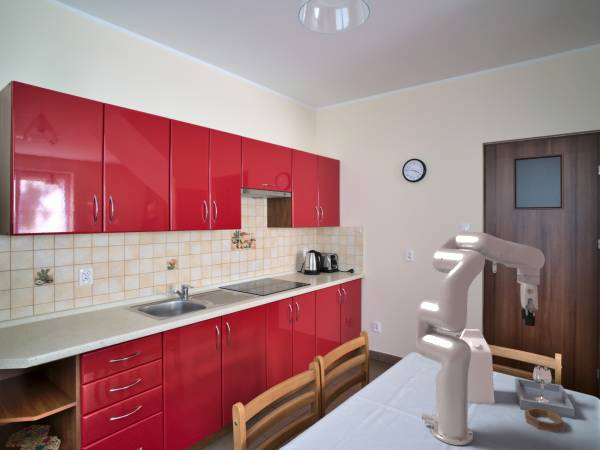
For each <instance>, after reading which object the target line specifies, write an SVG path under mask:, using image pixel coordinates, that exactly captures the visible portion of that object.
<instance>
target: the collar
mask: <svg viewBox="0 0 600 450" xmlns="http://www.w3.org/2000/svg"><path fill="white" fill-rule="evenodd" d="M536 417H542V418H547V419H549V420H550V421H553V422H549V421H544V420H540V419H538V418H536ZM524 418H525V421H526V424H528V425H530V426H532V427H534V428H536V429H537V430H541V431H547V432H550V433H558V432H560V431H563V430H565V428H564V427H565V426H564V425H565V424H564V423H565V422H564V419H563V417H561V416H560V415H558V414H556V413H554V412H552V411H550V410H548V409H543V408H537V407H532V408H527V409H525V410H524Z"/></svg>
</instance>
